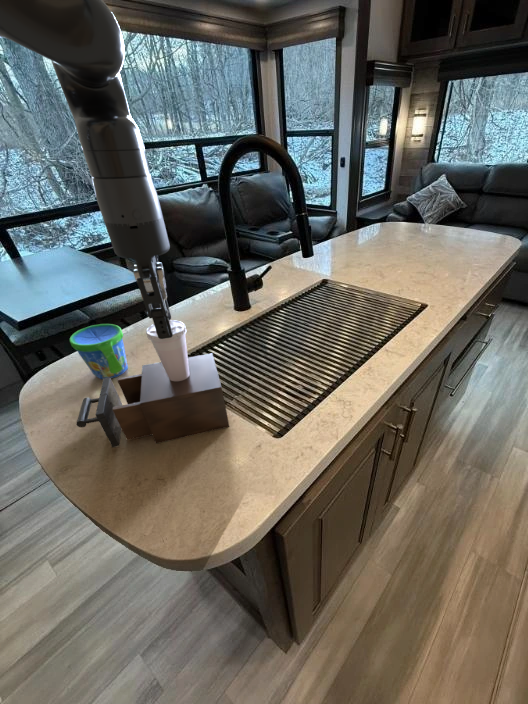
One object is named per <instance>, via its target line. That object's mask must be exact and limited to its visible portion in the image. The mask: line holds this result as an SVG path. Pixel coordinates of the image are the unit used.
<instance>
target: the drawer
mask: <svg viewBox="0 0 528 704" xmlns="http://www.w3.org/2000/svg"><path fill="white" fill-rule="evenodd" d="M141 379H142V373H140V374H134V375H129V376H123V377H117V383H118V385H119V387H120V390H121V392H122V395H123V397H124V399H125V402H126V403H127V404H123V402H122V400H121V398H120V395H119V393H118V392H117V389H116V387H115V384H114V382H113V380H112V378H110V377H107V378H103V379H102V383H101V388H100V392H99V397H97V398H91V397H87V396H86V397H84V398H83V399H82V401H81V405H80V409H79V413H78V415H77V419H76V423H75V424H76V427H78V428H86V427H87V424H93V423H96V422H98V423H99V425H100V426H101V428H102V430H103V432H104V435H105V436H106V438H107V440H108V442H109V444H110V445H111V447H112V448H117V447H120V446H121V445H120V444H121V438H122V437H121V436H122V434H123V435H124V437H125V439H126V441H130V440H136V439H139V438H144V437H148V436H153V435H152V432H151V430H150V427H149V425H148V422H147V420H146V417H145V415H144V412H143V410H142V408H141V405H140V395H141ZM96 403H97V405H96V411H95V417H91V418H89V416H90V413H91V407H92V404H96Z"/></svg>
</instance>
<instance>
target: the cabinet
mask: <svg viewBox="0 0 528 704" xmlns="http://www.w3.org/2000/svg"><path fill="white" fill-rule="evenodd" d="M215 360H216V359H215V357H214V354H213V353H206V354H205V353H204V354H201V355H194V356H188V365H189V374H190V375H189V377H188V378H187V379H185V380H182V381H171V380H170V379H169V377H168V375H167V373H166V371H165V369H164V367H163V364H162V362H161V361H160V362H154V363H148V364H143V365H141V374H142V379H141V395H140V405H141V408H142V410H143V412H144V415H145V417H146V420H147V422H148V425H149V427H150V430H151V432H152V435H151V436H152V437H153V440H154V442H155V444H161V443H166V442H170V441H174V440H178V439H183V438H187V437H191V436H196V435H200V434H204V433H208V432H212V431H218V430H221V429H222V430H223V429H226V428H230V422H229V418H228V412H227V408H226V403H225V397H224V393H223V392H224V391H223V387H222V384H221V379H220V376H219V372H218V368H217V364H216V361H215Z"/></svg>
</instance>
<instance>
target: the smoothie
mask: <svg viewBox="0 0 528 704" xmlns="http://www.w3.org/2000/svg"><path fill="white" fill-rule="evenodd" d="M160 307H161V306H160ZM169 322H170V326H171V329H172V334H173V336H172V337H171V338H165V339H160V338H158V335H157V332H156V329H155V325H154V323H153V324H151V325H149V326H148V327H147V328H146V329H145V333H146V338H147V339H148V340H149V341H150V342H151V343H152V346H153V348H154V350H155V352H156V354H157V356H158V358H159V360H160V362H162V364H163V367H164V369H165V371H166V373H167V375H168V377H169V379H170V380H171V381H182V380H185V379H187V378H188V377H189V375H190V374H189V365H188V357H189V356H188V347H187V339H186V334H187V327H186V324H185V323H184V322H182V321H180V320H177V319H176V320H175V319H170V320H169Z"/></svg>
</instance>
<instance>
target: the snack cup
mask: <svg viewBox="0 0 528 704" xmlns="http://www.w3.org/2000/svg"><path fill="white" fill-rule="evenodd" d="M123 338H124V333H123V331H122V328H121V327H120V326H119V325H116V324H113V323H100V324H94V325H90V326H87V327H83V328H81V329H78V330H77V331H75V332H74V333H72V335H70V338H69V343H70V345H71V347H72V348H73V349H74V350H75V351H77V353H78V355H79V356H80V358H81V359H82V361H83V362H84V363H85V364H86V366H87V367H88V369H89V370H90V372H91V373H92V374H93V375H94V376H95V377H97V378H98V379H100V380H103V378H107V377H110V378H111V379H114V378H119V377H120V376H121V375H123V374H124V373H125V372H126V371H127V370H128V367H129V366H128V359H127V355H126V349H125V344H124V341H123Z"/></svg>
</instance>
